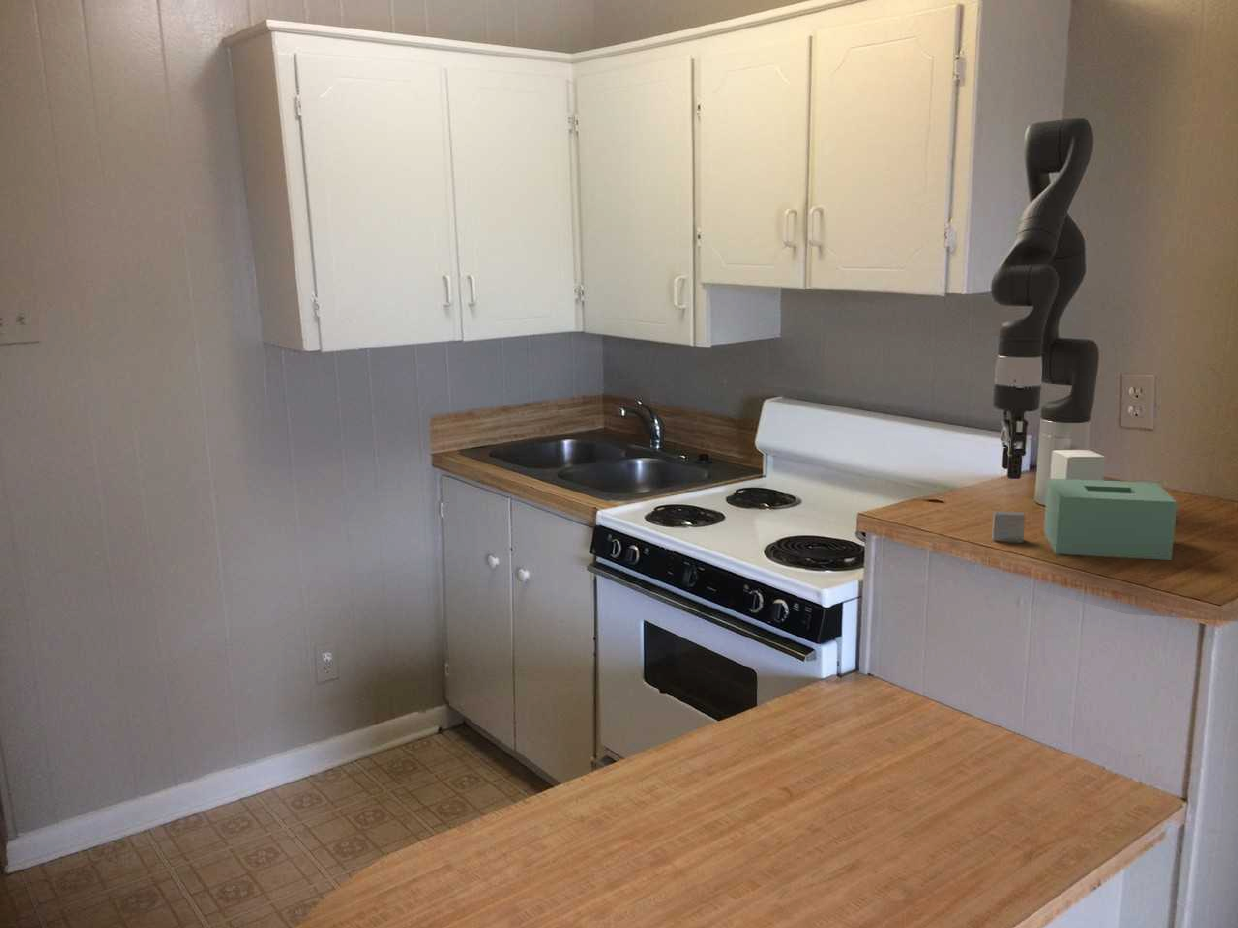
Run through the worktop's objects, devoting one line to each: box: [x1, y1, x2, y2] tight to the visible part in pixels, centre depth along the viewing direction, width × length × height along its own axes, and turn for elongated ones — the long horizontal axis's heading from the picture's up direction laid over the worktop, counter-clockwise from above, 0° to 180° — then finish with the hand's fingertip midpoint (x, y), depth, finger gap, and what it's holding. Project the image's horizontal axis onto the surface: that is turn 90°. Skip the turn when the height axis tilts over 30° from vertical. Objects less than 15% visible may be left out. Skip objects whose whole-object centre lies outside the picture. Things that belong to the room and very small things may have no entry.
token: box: [991, 510, 1026, 544], centre depth 183 cm, size 2×5×5 cm, turn 76°
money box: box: [1043, 479, 1178, 561], centre depth 179 cm, size 14×18×10 cm
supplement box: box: [1050, 449, 1106, 481], centre depth 197 cm, size 7×7×13 cm
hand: (1010, 473), depth 181 cm, fingers open, 8 cm apart
